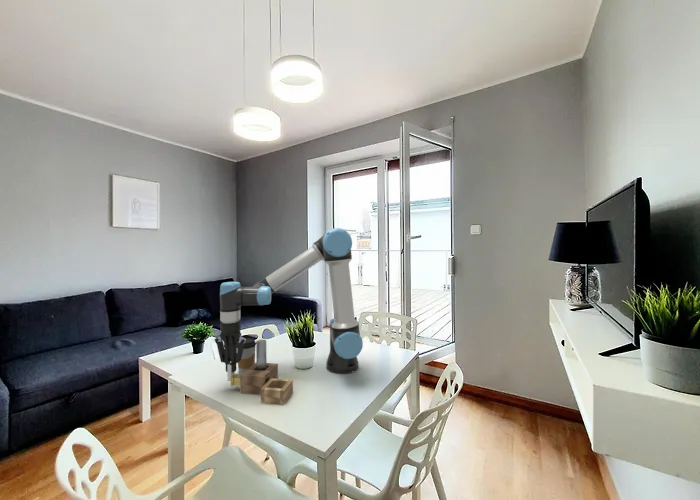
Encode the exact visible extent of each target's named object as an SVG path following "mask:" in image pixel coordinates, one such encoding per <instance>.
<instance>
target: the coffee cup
mask: <svg viewBox="0 0 700 500" xmlns="http://www.w3.org/2000/svg"><path fill="white" fill-rule="evenodd" d="M246 338H247V341H246V342H245V344H244V349H243V353H242V358H241V361H239V362H238V363H237V368H238V375H241V374H243V373H244V372H245V371H246V370H247V369H249V368H250V367H251V366H252V365H253V364H255V363H256V362H255V361H256V339H255V338H251V337H250V338H249V337H246ZM238 346H239V340H238V342H237V351H238Z"/></svg>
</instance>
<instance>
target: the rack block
mask: <svg viewBox="0 0 700 500" xmlns="http://www.w3.org/2000/svg"><path fill="white" fill-rule="evenodd" d="M293 381H294V380H293V379H285V378H278V379H274V378H271V379H270V380H269V381H268V382H267V383H266V384H265V385H264V386H263V387H262V388H261V395H260V403H261V404H271V405H285V404H287V402H288V400H289V399H290V397H291V396H292V394H293V393H294V387H293V385H294V384H293V383H294V382H293Z"/></svg>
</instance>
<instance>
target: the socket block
mask: <svg viewBox="0 0 700 500" xmlns="http://www.w3.org/2000/svg"><path fill="white" fill-rule="evenodd" d="M271 378H274V379H279V363H274V362H273V363H272V362H270V363H269V362H267V369H266V370H265V371H262V370H257V369H256V362H255V364H253V365H252V366H251V367H250V368H249V369H247V370H246V371H245V372H244V373H243V374H241V375H240V386H239V388H240V394H243V395H244V394H246V395H256V396H257V395H259V396H261V388H262V387H263V386H264V385H265V380H266V383H267V382H268V381H269V380H270V379H271Z"/></svg>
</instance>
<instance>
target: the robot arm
mask: <svg viewBox="0 0 700 500" xmlns="http://www.w3.org/2000/svg"><path fill="white" fill-rule="evenodd" d="M352 246H353V240H352V237H351V234H350V233H349V232H348V231H347V230H345V229H344V228H340V227H334V228H330V229H328V230H327V231H326V232H325V233H324V234H323V235H321V237H320V238H319V239H317V240H316V241H315V242H313V243H312V246H311V247H309V248H308V249H306V250H305V251H303V252H302V253H301V254H299V255H297V256H296V257H294V258H293V259H292V260H290V261H288V262H287V263H286V264H284V265H282V266H281V267H280V268H278V269H277V270H275V271H273V272H272V273H270V274H269V275H267V276H266V277H264V278H263V279H262V280H259V281H258V282H256V283H255V284H254V285H252V286H241V283H240V282H239V281H227V282H226V281H225V282H222V283H221V284H220V286H219V287H220V288H219V303H220V305H219V306H220V307H219V308H220V309H219V313H220V315H219V316H220V317H219V318H220V319H219V321H220V324H219V326H220V327H219V328H220V329H219V331H220V334H219V336H218V337H215V338H214V342H215V344H216V347H217V351H218V355H219V360H220V363H224V364H225V372H226V373H227V376H226V377H227V382H230V377H232V376H233V375H234V374H236V373H235V372H236V371H237V364H238V362H239V361H241V358H242V353H243V349H244V344H245V342H246V341H247V338H248V337H243V336H242V333H241V325H242V322H241V307H243V306H246V307H247V306H265V305H270V304H271V302H272V294H274V293H275V292H276V291H278V290H279V289H281V288H282V287H284V286H285V285H287V284H289V282H291V281H293V280H294V279H295V278H297V277H299V276H301V275H302V274H303V273H304V272H306V271H308V270H309V269H310V268H312V267H314V266H316V265H317V264H318V263H319V262H321V261H324V263H326V265H328V270H329V282H330V290H331V292H330V293H331V299H332V308H333V309H332V311H333V318H331V319H330V321H329V354H328V357H327V359H326V364H325V365H326V367H325V368H326V370H327V371H329V372H330V373H333V374H343V375H344V374H350V373H354V372H356V371H358V370H359V369H358V368H359V360H358V357H357V356H359V354H360V353H361V352H362V349H363V345H364V344H363V343H364V342H363V339H362V337H361V333H360V325H359V323H360V322H359V321H358V320H357V319H356V318H355V309H354V301H353V299H354V298H353V292H352V283H351V281H352V280H351V273H350V272H351V271H350V263H351V260H353V257H352V256H353V255H352ZM238 341H239V346H238V351H237V342H238Z"/></svg>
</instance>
